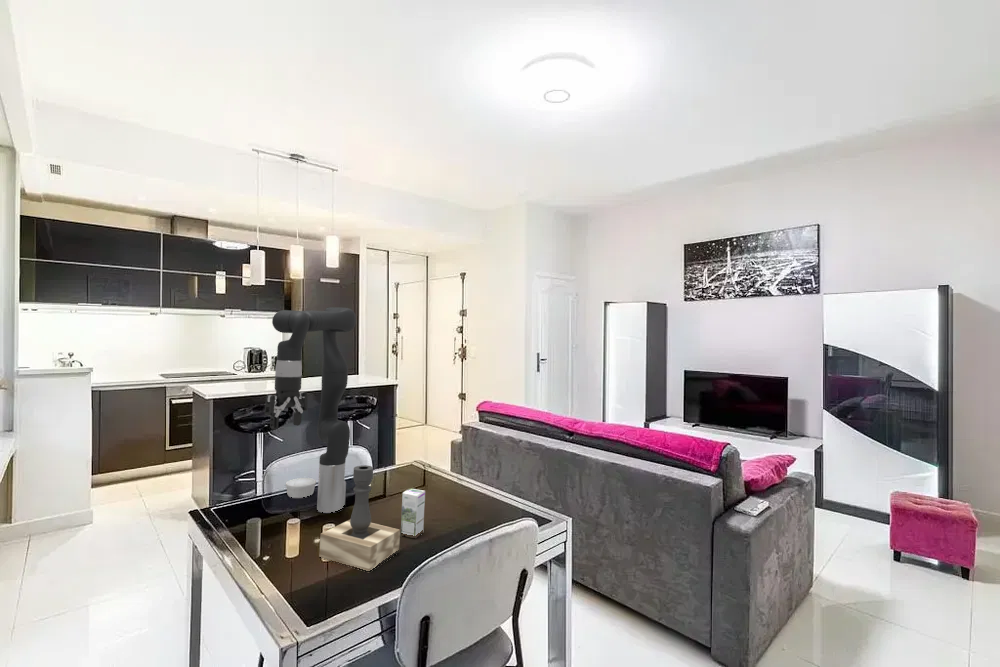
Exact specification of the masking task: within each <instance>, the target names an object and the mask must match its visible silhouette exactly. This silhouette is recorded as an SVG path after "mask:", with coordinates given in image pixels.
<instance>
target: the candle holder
mask: <svg viewBox="0 0 1000 667" xmlns="http://www.w3.org/2000/svg"><path fill="white" fill-rule="evenodd" d="M352 474H353V476H352V478H353V479H352V480H353V483H354V484H355V486H354V487H353V489H352V490H353V492H354V494H355V496H354V497H355V500H354V504H353V508H352V511H351V516H350V519H349V520H350V525H351V527H352V528H353V532H352V534H351V535H350V536H352V537H356V538H360V539H365V538H366V537H368V536H370V534H369V533H368V531H367V530H368V527H369V525H370V524H371V523H372V514H371V511H370V510H371V509H370V504H369V503H370V502H369V493H370V492H371V491H372V487H371V486H370V485H371V483H372V482H373V481H372V480H373V479H374V478H373V476H374V467H373V466H372V465H357V466H354V467H353V472H352Z"/></svg>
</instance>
